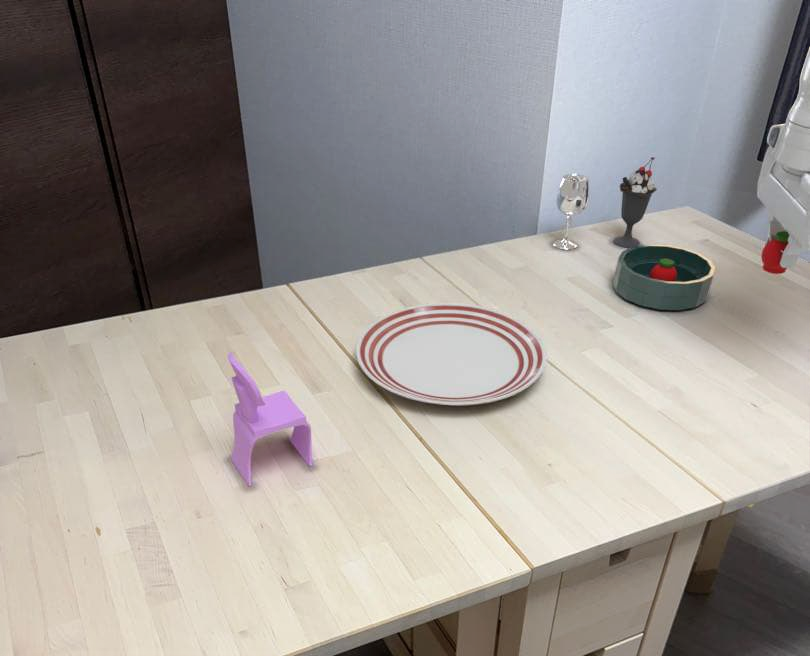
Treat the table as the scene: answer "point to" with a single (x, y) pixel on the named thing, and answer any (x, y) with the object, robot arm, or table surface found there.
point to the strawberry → (664, 271)
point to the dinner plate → (451, 354)
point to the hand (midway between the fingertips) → (778, 257)
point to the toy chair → (263, 420)
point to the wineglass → (571, 202)
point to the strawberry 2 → (774, 253)
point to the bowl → (658, 293)
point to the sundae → (634, 202)
